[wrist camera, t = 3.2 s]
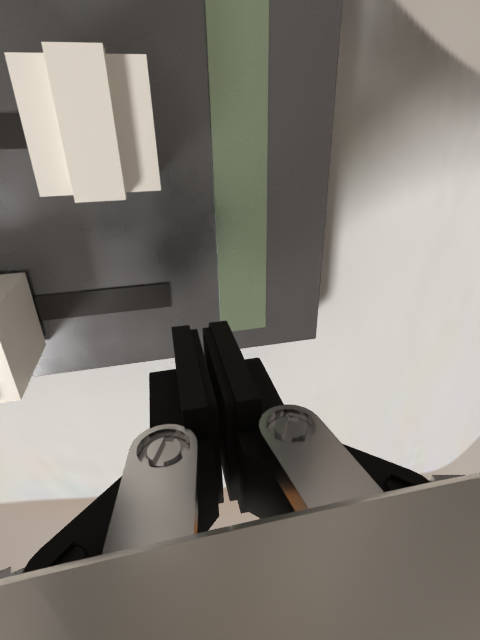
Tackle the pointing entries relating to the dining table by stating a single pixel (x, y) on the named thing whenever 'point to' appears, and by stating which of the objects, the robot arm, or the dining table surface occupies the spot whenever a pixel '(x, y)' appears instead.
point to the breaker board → (182, 180)
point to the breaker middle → (86, 120)
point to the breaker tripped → (17, 336)
